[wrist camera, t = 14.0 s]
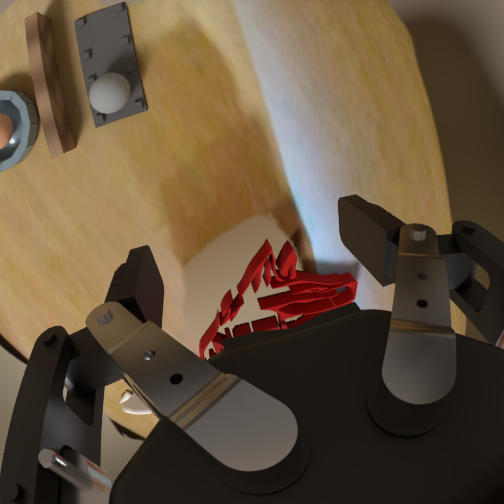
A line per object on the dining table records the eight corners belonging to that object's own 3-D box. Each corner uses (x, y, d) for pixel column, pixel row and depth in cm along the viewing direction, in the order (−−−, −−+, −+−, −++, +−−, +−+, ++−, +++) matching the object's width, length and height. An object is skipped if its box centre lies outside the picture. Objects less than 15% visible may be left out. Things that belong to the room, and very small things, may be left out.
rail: (39, 24, 23) (24, 18, 19) (50, 18, 23) (36, 11, 19) (64, 152, 33) (51, 158, 29) (75, 147, 33) (63, 153, 29)
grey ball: (92, 82, 29) (79, 80, 25) (129, 69, 30) (120, 64, 25) (100, 118, 32) (88, 120, 27) (137, 105, 32) (129, 105, 28)
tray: (75, 21, 24) (72, 20, 24) (125, 2, 25) (124, 0, 24) (96, 127, 32) (94, 128, 32) (147, 110, 33) (146, 110, 32)
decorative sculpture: (208, 397, 56) (151, 277, 41) (206, 385, 58) (153, 266, 44) (352, 356, 58) (358, 225, 43) (347, 346, 61) (348, 218, 46)
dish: (-24, 111, 25) (-34, 113, 23) (29, 77, 26) (20, 76, 24) (-7, 177, 31) (-16, 182, 29) (46, 149, 32) (38, 152, 29)
